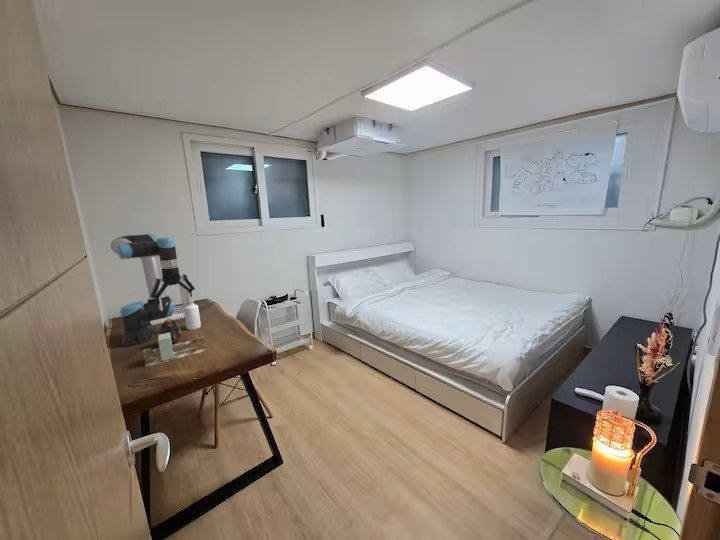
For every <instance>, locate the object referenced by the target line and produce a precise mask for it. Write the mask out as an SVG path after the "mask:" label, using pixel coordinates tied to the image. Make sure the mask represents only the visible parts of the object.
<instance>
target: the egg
mask: <svg viewBox="0 0 720 540" xmlns="http://www.w3.org/2000/svg"><path fill="white" fill-rule="evenodd" d="M165 333H170V336H171V342H172V345H174V344H179V343H180V340H181V339H182V336H183V332H182V328H181V327H180V325H179V324H178V322H176V320H172V319H167V320H165V321H164V322H163V323H161V325H160V329H159V335H160V334H165Z"/></svg>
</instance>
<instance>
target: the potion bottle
mask: <svg viewBox="0 0 720 540" xmlns="http://www.w3.org/2000/svg"><path fill="white" fill-rule="evenodd" d="M184 314H185V318H184V319H185V326H186V329H187V330H190V331H191V330H192V331H193V330H197V329H199V328H201V326H202V324H201V323H202V322H201V318H200V310H199V305H198V304H195V301H194V300H193V301H191V304H189V303H188V302H187V306H185V307H184Z"/></svg>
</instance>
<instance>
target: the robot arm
mask: <svg viewBox="0 0 720 540" xmlns="http://www.w3.org/2000/svg"><path fill="white" fill-rule="evenodd" d="M110 249H111V251H112V252H114V254H117V255H118V258H119V259H121V260H123V259H125V260H126V259H127V260H128V259H136V258H138V259H140V260H141V264H142V268H143V273H144V278H145V282H146V283H145V284H146V286H147V292H148V295H149V297H148V298H147V299H146V301H147V302H144V301H142V300H141V301H140V300H139V301H136V302H135V301H134V302H131V303H129V304H125V305H124V306H122V307H121V308H120V317H121V322H122V327H123V336H122V340H121V342H122V346H125V347H132V346H133V347H134V346H138V345H142V344H146V343H148V342H149V341H151V340H153V339H154V333H153V332H152V330H151V329H150V327H149V324H148V322H149V321H154V320H158V319H162V318H166V317H170V316H172V315H173V313H174V306H175V302H174V298H172V297H170V295H169V294H167V293H166V288H168V286H176V285H178V286H179V285H180V286H182V287H183V288H185V289H186V290H187V291H188V292H186V294H187V301H188V303H189V304H191V298H190V297H192V295H193V291H194V290H196V288H195V287H194V285H193V284H192V282H191V283H190V281H191V280H190V279H189V278H188V275H186V274H180V269H179V267H178V266H179V262H178V257H177V250H176V243H175V239H174V238H173V237H158V235H156V234H154V233H153V234H152V233H150V234H149V233H147V234H131V235H123V236H119V237H117V238H115V239H113V240H112V241H111V242H110ZM180 275H181V276H180ZM181 278H182V279H184V281H185V282H186V283H187V284H188V286H189V287H190V289H189V288H188V287H187V286H185V285H184V284H183V283H182V282H180V281H179V280H180V279H181ZM188 279H189V280H190V281H189V280H188ZM180 286H179V287H180ZM149 323H150V322H149Z"/></svg>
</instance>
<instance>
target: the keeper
mask: <svg viewBox="0 0 720 540" xmlns="http://www.w3.org/2000/svg"><path fill="white" fill-rule="evenodd" d="M157 341H158V348H160V351H159V355H161V359H162V361H163V360H167V359H171V358H173V352H174V350H173V349H174V348H172V342H171V336H170V333H165V334H160V333H159V334H158V339H157Z"/></svg>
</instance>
